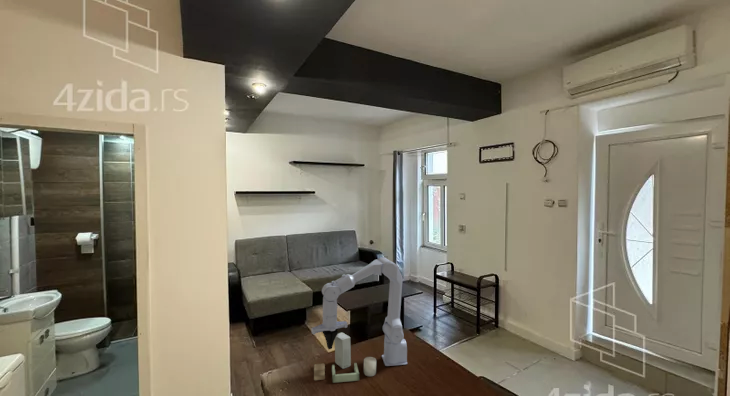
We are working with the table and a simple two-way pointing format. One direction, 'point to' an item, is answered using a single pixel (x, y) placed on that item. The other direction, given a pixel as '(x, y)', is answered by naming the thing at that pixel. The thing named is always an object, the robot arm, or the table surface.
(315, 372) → the beech block
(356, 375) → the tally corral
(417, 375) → the table surface
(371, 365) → the cream rounded block
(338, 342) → the skincare box
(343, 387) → the table surface
